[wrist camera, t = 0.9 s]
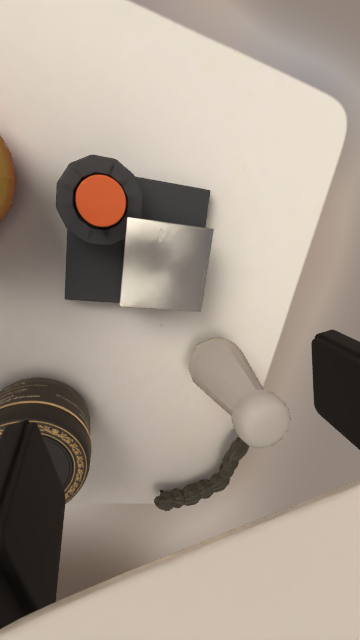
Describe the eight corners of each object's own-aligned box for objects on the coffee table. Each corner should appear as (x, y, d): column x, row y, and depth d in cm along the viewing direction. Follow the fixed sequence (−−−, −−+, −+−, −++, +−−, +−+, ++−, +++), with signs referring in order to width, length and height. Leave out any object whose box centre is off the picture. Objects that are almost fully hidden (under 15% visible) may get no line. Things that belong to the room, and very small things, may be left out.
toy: (171, 505, 41) (177, 527, 39) (148, 486, 38) (154, 508, 36) (269, 438, 41) (281, 455, 39) (253, 414, 38) (266, 431, 36)
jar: (-41, 405, 30) (-82, 464, 23) (56, 352, 31) (46, 393, 24) (24, 474, 34) (6, 542, 27) (109, 425, 35) (113, 479, 28)
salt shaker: (177, 342, 34) (224, 412, 22) (226, 323, 35) (298, 380, 23) (191, 387, 36) (242, 474, 24) (238, 368, 37) (309, 443, 25)
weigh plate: (119, 305, 28) (119, 306, 28) (126, 216, 26) (127, 216, 26) (199, 310, 30) (200, 311, 30) (212, 228, 28) (213, 229, 28)
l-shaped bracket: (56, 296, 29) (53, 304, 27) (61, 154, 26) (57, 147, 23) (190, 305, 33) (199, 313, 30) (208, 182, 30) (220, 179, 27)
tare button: (75, 222, 26) (74, 223, 24) (77, 173, 25) (76, 170, 23) (121, 228, 27) (124, 229, 25) (125, 181, 26) (128, 179, 24)
